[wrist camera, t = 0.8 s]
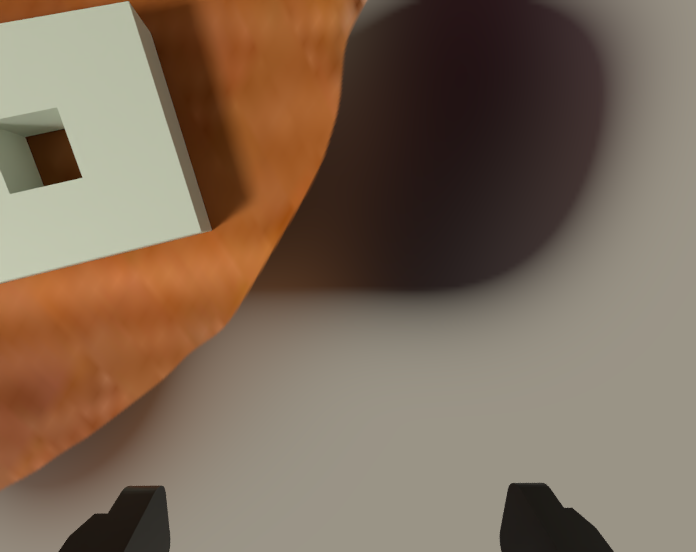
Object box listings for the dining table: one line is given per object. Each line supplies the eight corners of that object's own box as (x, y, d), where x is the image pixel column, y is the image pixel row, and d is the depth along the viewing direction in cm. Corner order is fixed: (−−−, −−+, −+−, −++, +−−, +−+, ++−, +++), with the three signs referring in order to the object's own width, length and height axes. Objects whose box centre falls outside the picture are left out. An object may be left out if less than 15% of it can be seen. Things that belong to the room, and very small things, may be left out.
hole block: (-100, 79, 29) (-170, 53, 24) (150, 32, 31) (128, 1, 26) (-12, 286, 31) (-60, 297, 27) (212, 230, 34) (201, 231, 29)
